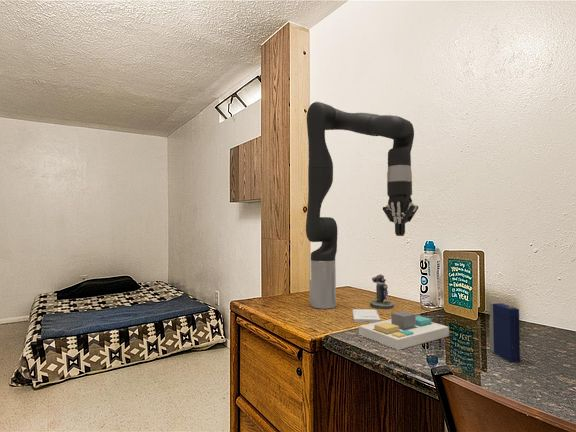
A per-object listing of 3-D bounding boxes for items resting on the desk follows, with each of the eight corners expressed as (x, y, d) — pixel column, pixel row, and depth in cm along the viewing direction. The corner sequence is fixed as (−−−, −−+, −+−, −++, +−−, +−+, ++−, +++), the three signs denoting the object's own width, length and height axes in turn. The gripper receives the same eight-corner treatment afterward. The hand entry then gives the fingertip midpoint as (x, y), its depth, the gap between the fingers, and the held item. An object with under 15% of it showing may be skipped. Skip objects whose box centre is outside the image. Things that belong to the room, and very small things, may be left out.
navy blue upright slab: (520, 362, 80) (519, 307, 80) (510, 362, 80) (509, 308, 80) (498, 350, 88) (497, 300, 88) (489, 350, 87) (488, 301, 88)
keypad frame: (358, 335, 100) (358, 324, 100) (408, 323, 111) (407, 314, 111) (398, 350, 88) (397, 337, 88) (449, 336, 99) (448, 325, 99)
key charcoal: (391, 323, 100) (391, 313, 100) (402, 321, 103) (402, 310, 103) (404, 327, 97) (404, 316, 97) (415, 325, 99) (415, 314, 99)
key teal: (407, 328, 104) (407, 317, 104) (418, 325, 106) (417, 315, 106) (420, 332, 100) (420, 321, 100) (431, 329, 102) (431, 318, 102)
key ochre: (374, 335, 97) (374, 324, 97) (386, 333, 99) (386, 322, 99) (387, 340, 93) (386, 328, 93) (399, 337, 95) (399, 326, 96)
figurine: (371, 308, 130) (371, 275, 131) (369, 303, 139) (368, 272, 139) (395, 309, 130) (395, 275, 130) (391, 303, 138) (391, 272, 138)
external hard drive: (376, 314, 125) (380, 324, 113) (352, 313, 126) (353, 323, 114) (376, 309, 125) (380, 319, 113) (352, 309, 126) (353, 318, 114)
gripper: (375, 182, 118) (376, 235, 118) (408, 178, 107) (408, 236, 106) (391, 183, 122) (392, 234, 122) (424, 179, 111) (425, 236, 110)
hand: (400, 235), depth 114 cm, fingers closed
